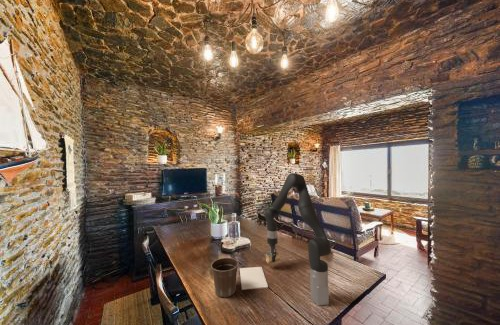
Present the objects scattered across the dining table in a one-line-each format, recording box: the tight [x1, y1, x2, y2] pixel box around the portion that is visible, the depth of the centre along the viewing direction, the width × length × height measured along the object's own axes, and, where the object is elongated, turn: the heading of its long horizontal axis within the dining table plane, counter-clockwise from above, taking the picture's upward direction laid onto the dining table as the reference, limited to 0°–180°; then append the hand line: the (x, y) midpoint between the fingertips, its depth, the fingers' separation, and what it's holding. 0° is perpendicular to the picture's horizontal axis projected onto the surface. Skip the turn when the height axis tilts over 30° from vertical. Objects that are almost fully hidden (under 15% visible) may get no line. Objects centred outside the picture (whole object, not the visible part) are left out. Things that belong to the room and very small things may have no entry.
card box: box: [265, 251, 281, 265], centre depth 142 cm, size 5×9×5 cm, turn 106°
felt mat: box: [239, 266, 269, 291], centre depth 130 cm, size 24×16×1 cm, turn 6°
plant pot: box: [210, 257, 239, 298], centre depth 116 cm, size 16×16×16 cm
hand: (272, 259), depth 142 cm, fingers closed on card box, 5 cm apart
